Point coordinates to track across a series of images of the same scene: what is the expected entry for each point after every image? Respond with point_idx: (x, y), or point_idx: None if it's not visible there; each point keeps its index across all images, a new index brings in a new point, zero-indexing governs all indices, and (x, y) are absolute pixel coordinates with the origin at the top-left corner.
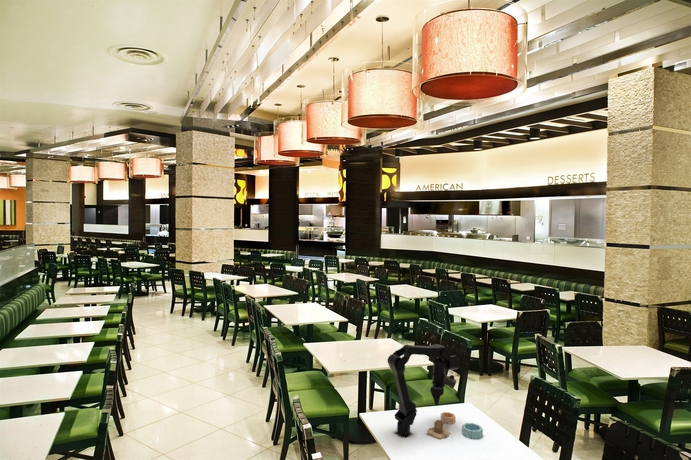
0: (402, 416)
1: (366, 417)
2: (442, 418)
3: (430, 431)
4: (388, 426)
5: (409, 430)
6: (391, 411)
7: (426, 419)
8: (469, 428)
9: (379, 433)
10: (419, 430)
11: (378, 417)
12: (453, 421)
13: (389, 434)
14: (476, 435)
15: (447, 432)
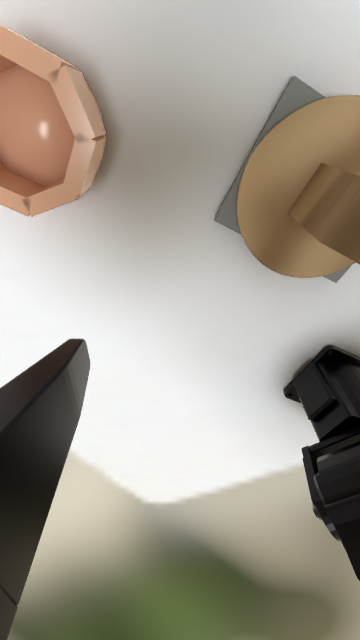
0: (316, 461)
1: (187, 497)
2: (85, 188)
3: (320, 260)
4: (250, 436)
5: (357, 377)
6: (79, 447)
7: (83, 297)
8: None
9: None
10: (264, 318)
11: (170, 472)
12: (57, 56)
13: None
14: None
15: (326, 114)
